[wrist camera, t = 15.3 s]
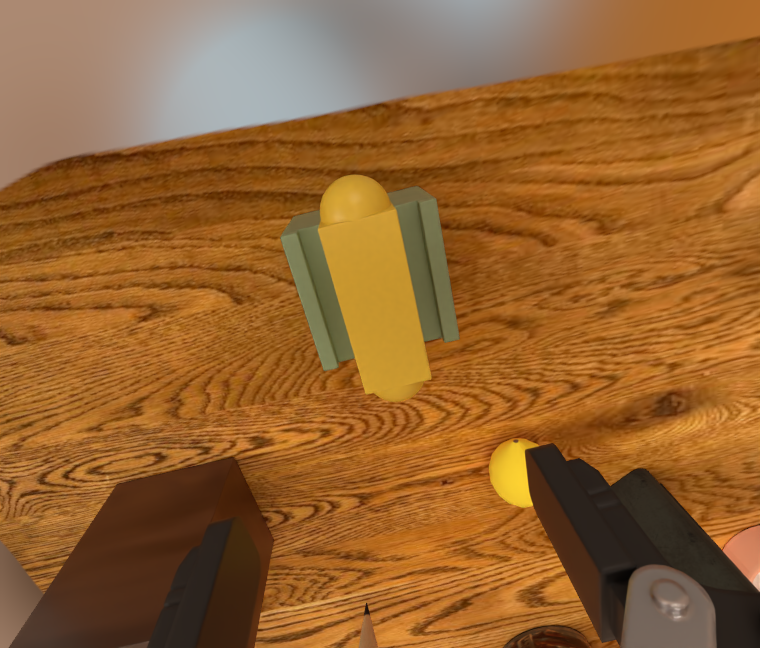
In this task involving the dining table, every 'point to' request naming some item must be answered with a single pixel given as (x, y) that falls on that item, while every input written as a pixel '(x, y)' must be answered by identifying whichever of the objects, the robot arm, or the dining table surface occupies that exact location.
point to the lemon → (511, 471)
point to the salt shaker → (746, 553)
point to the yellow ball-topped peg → (374, 287)
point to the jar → (549, 638)
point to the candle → (678, 533)
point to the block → (423, 264)
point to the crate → (141, 558)
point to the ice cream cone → (367, 632)
